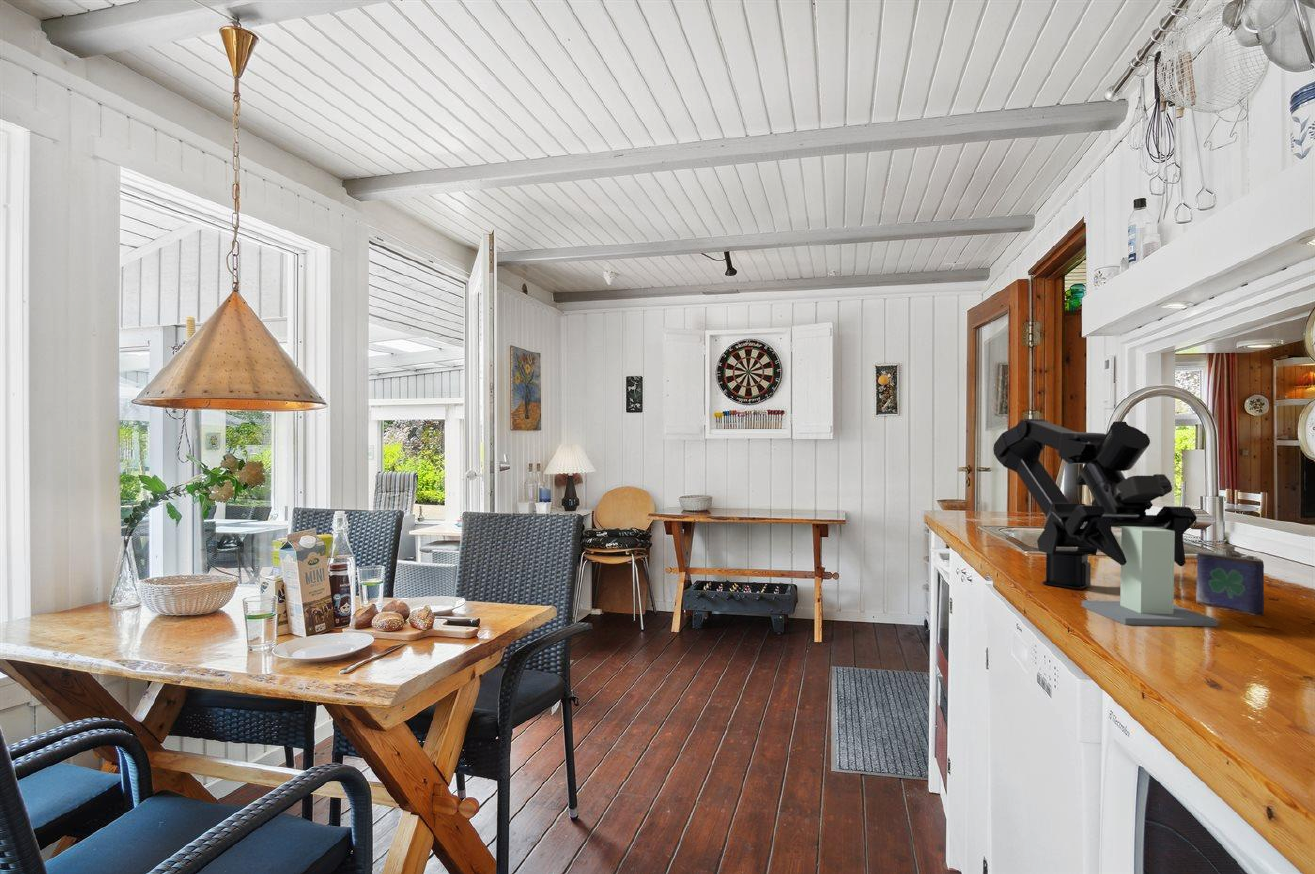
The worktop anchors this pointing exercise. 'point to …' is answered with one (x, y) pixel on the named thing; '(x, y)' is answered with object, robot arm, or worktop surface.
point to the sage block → (1147, 569)
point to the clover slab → (1230, 581)
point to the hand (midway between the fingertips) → (1153, 564)
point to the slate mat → (1149, 615)
